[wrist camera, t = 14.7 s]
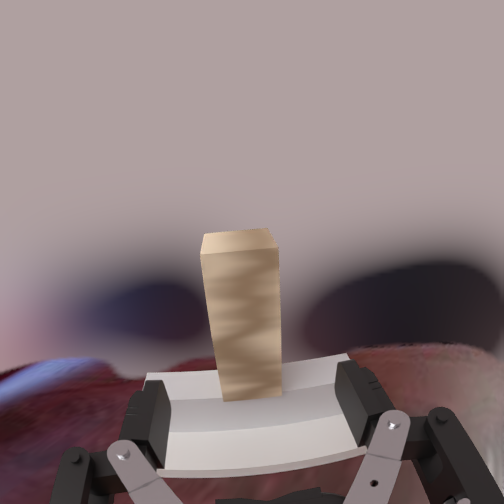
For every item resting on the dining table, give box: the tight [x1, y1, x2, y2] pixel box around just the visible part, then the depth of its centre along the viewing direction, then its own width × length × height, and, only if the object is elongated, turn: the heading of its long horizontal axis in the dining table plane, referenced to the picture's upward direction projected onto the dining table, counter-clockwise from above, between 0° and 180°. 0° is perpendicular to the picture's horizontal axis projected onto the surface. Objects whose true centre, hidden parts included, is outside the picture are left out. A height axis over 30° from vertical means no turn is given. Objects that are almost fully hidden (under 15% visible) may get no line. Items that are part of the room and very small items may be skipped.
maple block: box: [200, 228, 282, 402], centre depth 21 cm, size 4×4×12 cm
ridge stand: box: [143, 353, 367, 478], centre depth 24 cm, size 22×12×6 cm, turn 95°
